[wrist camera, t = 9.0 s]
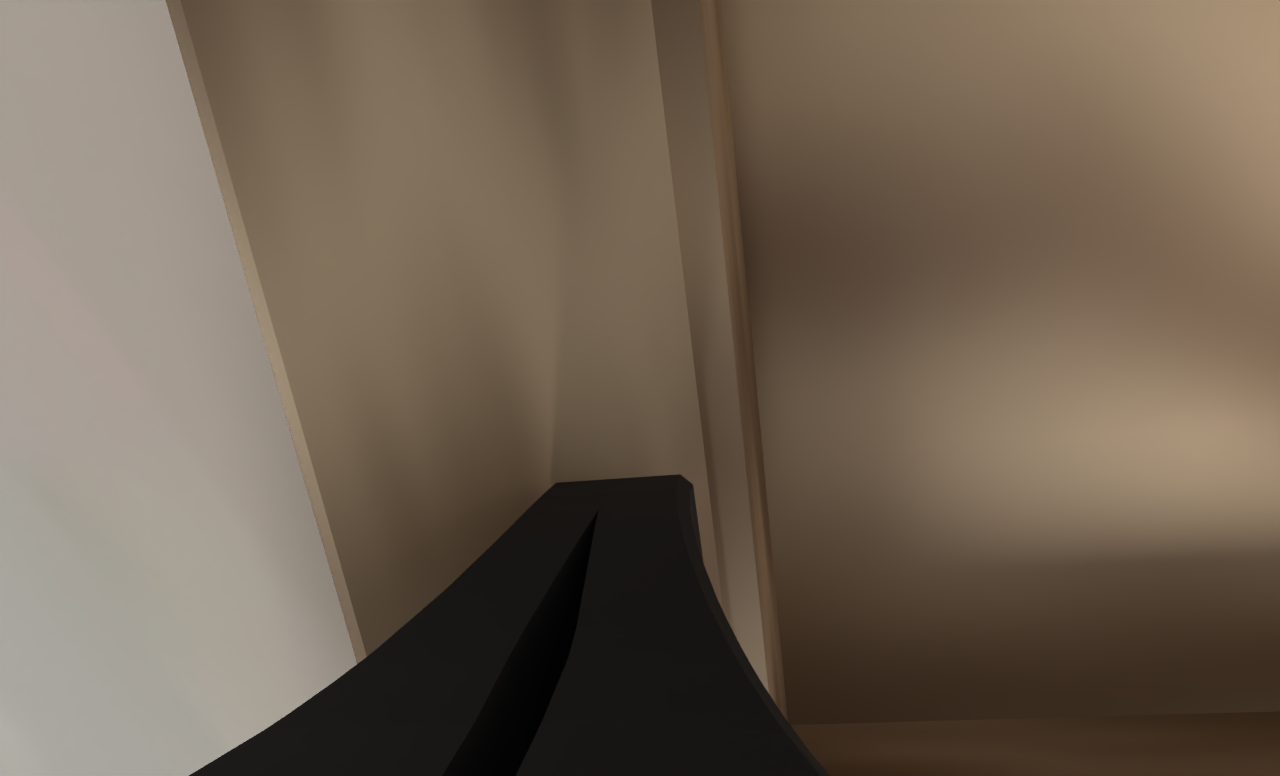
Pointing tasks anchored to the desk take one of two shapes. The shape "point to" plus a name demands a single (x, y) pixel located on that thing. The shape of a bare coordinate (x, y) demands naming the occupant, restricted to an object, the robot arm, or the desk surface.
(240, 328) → the desk surface
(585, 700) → the robot arm
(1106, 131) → the carton
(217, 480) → the desk surface
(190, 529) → the desk surface
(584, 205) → the flap
